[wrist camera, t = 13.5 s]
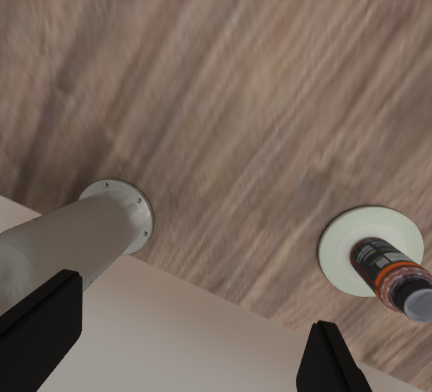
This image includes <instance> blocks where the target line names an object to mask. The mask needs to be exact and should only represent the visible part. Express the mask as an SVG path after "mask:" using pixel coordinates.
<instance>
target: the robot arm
mask: <svg viewBox="0 0 432 392" xmlns="http://www.w3.org/2000/svg"><path fill="white" fill-rule="evenodd" d="M140 198H141V200H140ZM153 227H154V215H153V211H152V208H151V206H150V203H149V201H148V200H147V198H146V197H145V196H144V194H143V193H142V192H141V191H140V190H139V189H137V188H136V187H134V186H133V185H132V184H129V183H127V182H125V181H121V180H117V179H107V180H101V181H98V182H96V183H94V184H92V185H90V186H89V187H87V188H86V189H85V190H84V191H83V192H82V194H81V195H80V197H79V199H78V201H76V202H74V203H71V204H69V205H67V206H64V207H62V208H59V209H57V210H54V211H52V212H49V213H47V214H45V215H42V216H40V217H37V218H35V219H32V220H30V221H28V222H25V223H23V224H20V225H18V226H15V227H13V228H11V229H8V230H6V231H4V232H2V233H1V234H0V392H37V390H38V389H39V388H40V386H41V385H42V384H43V383H44V382H45V380H46V379H47V378H48V377H49V375H50V374H51V372H53V370H54V369H55V368H56V366H57V365H58V364H59V363H60V361H61V360H62V359H63V358H64V356H65V355H66V354H67V353H68V351H69V350H70V349H71V348H72V346H73V345H74V344H75V343H76V341H77V340H78V338H79V337H80V335H81V332H82V295H83V294H82V293H83V292H84V291H85V290H86V289H87V288H88V287H89V286H90V285H91V284H92V283H93V282H94V281H95V280H96V279H97V278H98V277H99V276H100V275H101V274H102V273H103V272H104V271H105V270H106V269H107V268H108V267H109V266H110V265H111V264H112V263H113V262H114V261H115V260H116V259H117V258H118V257H119V256H121V255H128V254H131V253H134V252H136V251H138V250H139V249H140V248H141V247H143V246H144V245H145V244H146V242H147V241H148V240H149V238H150V236H151V234H152V231H153ZM146 232H147V233H146ZM296 387H297V392H372V390H371V388H370V386H369V384H368V382H367V380H366V378H365V376H364V374H363V373H362V371H361V370H360V369H359V368H358V367H357V366H356V364H355V362H354V360H353V358H352V356H351V354H350V351H349V349H348V347H347V345H346V343H345V341H344V339H343V337H342V335H341V333H340V331H339V329H338V327H337V325H336V324H335V323H331V322H326V321H321V320H319V321H318V322H317V324H316V323H313V325H312V328H311V331H310V334H309V337H308V341H307V344H306V348H305V351H304V354H303V357H302V360H301V364H300V367H299V370H298V374H297V378H296Z"/></svg>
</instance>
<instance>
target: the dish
mask: <svg viewBox="0 0 432 392" xmlns="http://www.w3.org/2000/svg"><path fill="white" fill-rule="evenodd" d="M370 237H376V238H381V239H383V240H385V241H387V242H388V243H390V244H391V245H392V246H394V247H395V248H397V249H398V250H399V251H401V252H402V253H403V254H405V255H406V256H408V257H409V258H410V259H412V260H413V261H415V262H416V263H417V264H419V265H420V264H421V261H422V257H423V248H424V246H423V240H422V236H421V234H420V232H419V230H418V228H417V227H416V225H415V224H414V223H413V222H412V221H411V220H410V219H408V218H407V217H406V216H404V215H402V214H400V213H399V212H397V211H395V210H392V209H390V208H386V207H382V206H363V207H358V208H354V209H351V210H349V211H347V212H345V213H343V214H341V215H340V216H338V217H337V218H335V219H334V220H333V221H332V222H331V223H330V224H329V225H328V226H327V228H326V229H325V231H324V232H323V234H322V236H321V238H320V241H319V245H318V260H319V264H320V266H321V269H322V270H323V272H324V274H325V275H326V277H327V279H328V280H329V281H330V282H331V283H332V284H333V285H334V286H335V287H337V288H338V289H340V290H342V291H344V292H346V293H348V294H351V295H355V296H362V297H371V296H376V294H375V293H374V292H373V291H372V290H371V289H370V287H369V286H368V285H367V284H366V283H365V281H364V280H363V279H362V278H361V277H360V276H359V274H358V273H357V272H356V271H355V270H354V268H353V267H352V265H351V263H350V252H351V250H352V248H353V247H354V245H355V244H356V243H358V242H359V241H361V240H363V239H365V238H370Z"/></svg>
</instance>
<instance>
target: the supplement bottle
mask: <svg viewBox="0 0 432 392" xmlns="http://www.w3.org/2000/svg"><path fill="white" fill-rule="evenodd" d="M350 263H351V265H352V267H353V268H354V270H355V271H356V272H357V273H358V274H359V276H360V277H361V278H362V279H363V280H364V281H365V283H366V284H367V285H368V286H369V287H370V289H371V290H372V291H373V292H374V293H375V294H376V296H377V297H378V298H379V299H380V300H381V301H382V302H383V303H384V304H385V305H386V306H387V307H388V308H390V309H391V310H393V311H396V312H399V313H404V314H405V315H406V316H407V317H408V318H409V319H411V320H413V321H415V322H419V323H428V322H432V275H431V274H430V273H429V272H428V271H427V270H425V269H424V268H423V267H421V266H420V265H419V264H417V263H416V262H415V261H413V260H412V259H410V258H409V257H408V256H406V255H405V254H403V253H402V252H401V251H399V250H398V249H397V248H395V247H394V246H392V245H391V244H390V243H388V242H387V241H385V240H383V239H381V238H376V237H370V238H365V239H363V240H361V241H359V242H358V243H356V244H355V245H354V247H353V248H352V250H351V252H350Z"/></svg>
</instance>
